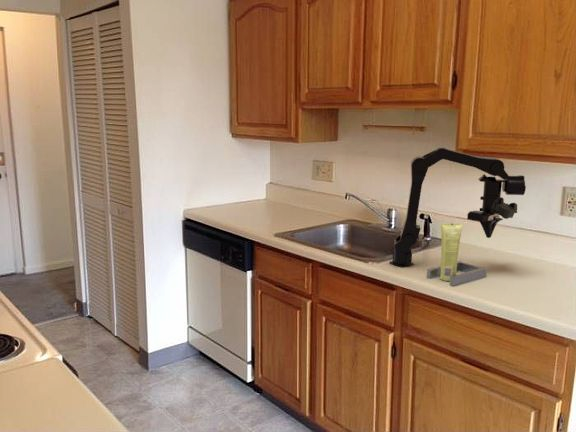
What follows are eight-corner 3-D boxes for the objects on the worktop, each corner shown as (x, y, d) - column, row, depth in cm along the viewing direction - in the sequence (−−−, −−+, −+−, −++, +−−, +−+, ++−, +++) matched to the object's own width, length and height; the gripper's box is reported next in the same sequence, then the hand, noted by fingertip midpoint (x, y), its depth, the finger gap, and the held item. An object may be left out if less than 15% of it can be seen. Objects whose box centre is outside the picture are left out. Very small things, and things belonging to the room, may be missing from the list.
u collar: (426, 277, 181) (427, 269, 180) (459, 269, 190) (459, 261, 190) (453, 286, 172) (454, 277, 171) (485, 277, 182) (486, 268, 181)
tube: (445, 275, 183) (448, 220, 179) (459, 278, 179) (462, 222, 175) (437, 279, 178) (440, 223, 175) (451, 282, 175) (455, 225, 171)
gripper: (496, 200, 174) (492, 246, 177) (528, 194, 184) (524, 238, 187) (467, 195, 182) (464, 239, 186) (500, 190, 193) (496, 232, 196)
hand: (488, 237), depth 188 cm, fingers closed
